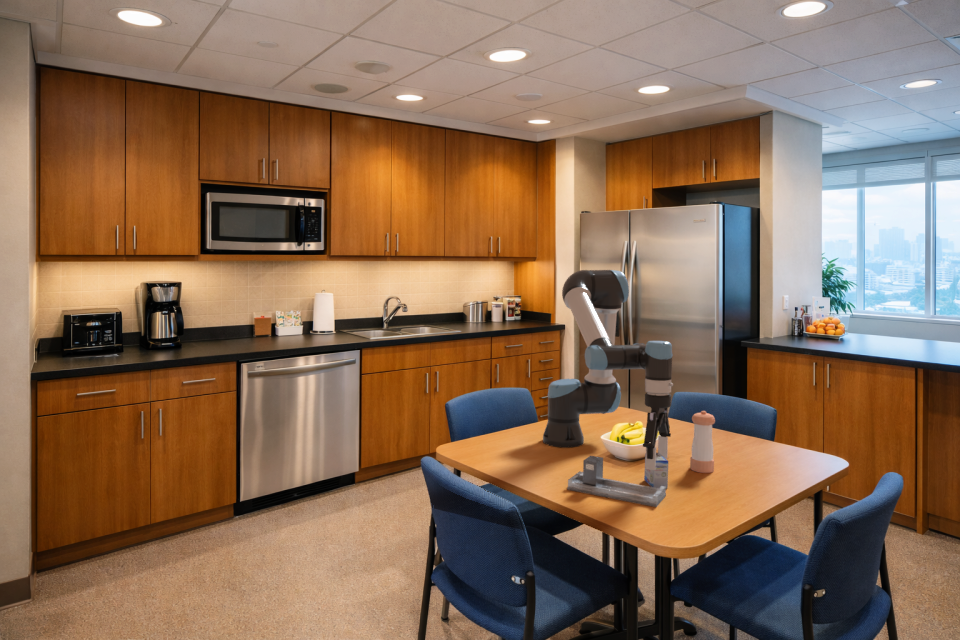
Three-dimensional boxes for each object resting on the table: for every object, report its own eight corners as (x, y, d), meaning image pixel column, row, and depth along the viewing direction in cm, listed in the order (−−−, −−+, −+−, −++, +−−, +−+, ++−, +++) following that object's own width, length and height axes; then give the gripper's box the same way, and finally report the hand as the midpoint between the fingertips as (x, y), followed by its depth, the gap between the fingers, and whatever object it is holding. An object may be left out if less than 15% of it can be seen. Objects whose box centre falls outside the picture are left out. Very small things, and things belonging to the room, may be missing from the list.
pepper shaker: (718, 472, 195) (720, 413, 194) (697, 473, 194) (699, 414, 193) (706, 465, 202) (708, 408, 201) (685, 466, 201) (687, 408, 200)
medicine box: (643, 480, 188) (644, 452, 187) (658, 479, 188) (658, 452, 188) (653, 489, 180) (654, 460, 179) (668, 489, 180) (668, 460, 180)
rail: (567, 489, 179) (567, 460, 179) (580, 479, 188) (580, 451, 187) (656, 507, 166) (657, 475, 165) (665, 495, 175) (666, 465, 174)
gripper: (659, 401, 169) (658, 476, 171) (680, 387, 191) (679, 455, 192) (633, 398, 173) (631, 472, 175) (656, 385, 195) (655, 451, 196)
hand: (656, 463), depth 183 cm, fingers open, 13 cm apart
